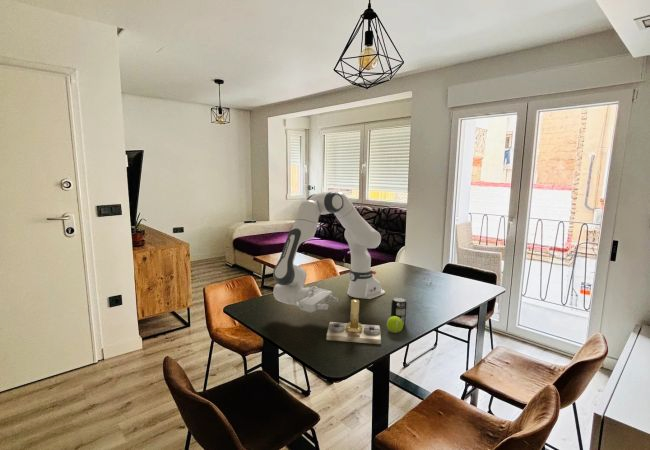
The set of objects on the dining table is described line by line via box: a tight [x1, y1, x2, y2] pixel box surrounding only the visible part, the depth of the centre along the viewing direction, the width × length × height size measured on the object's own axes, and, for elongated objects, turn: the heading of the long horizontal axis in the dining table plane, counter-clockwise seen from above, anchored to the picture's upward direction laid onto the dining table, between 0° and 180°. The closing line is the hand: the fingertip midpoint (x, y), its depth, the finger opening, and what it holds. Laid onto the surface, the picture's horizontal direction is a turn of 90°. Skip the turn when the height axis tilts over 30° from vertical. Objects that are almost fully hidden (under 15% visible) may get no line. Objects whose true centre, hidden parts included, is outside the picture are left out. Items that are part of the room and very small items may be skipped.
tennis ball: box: [386, 316, 404, 334], centre depth 148 cm, size 7×7×7 cm
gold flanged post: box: [346, 298, 362, 333], centre depth 144 cm, size 7×7×13 cm
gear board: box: [326, 321, 382, 345], centre depth 145 cm, size 22×13×4 cm, turn 83°
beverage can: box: [390, 296, 407, 327], centre depth 156 cm, size 7×7×12 cm
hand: (332, 303), depth 148 cm, fingers open, 8 cm apart
